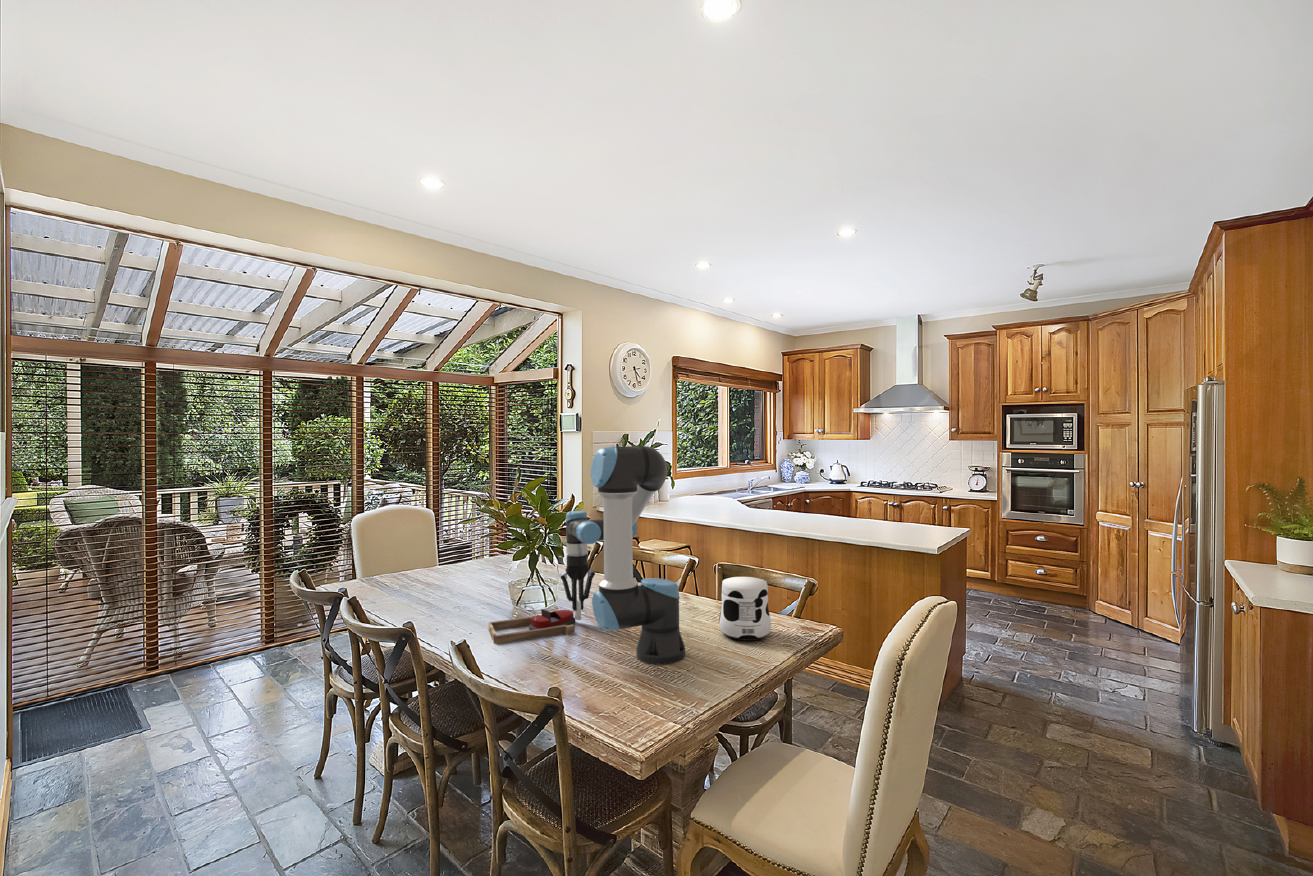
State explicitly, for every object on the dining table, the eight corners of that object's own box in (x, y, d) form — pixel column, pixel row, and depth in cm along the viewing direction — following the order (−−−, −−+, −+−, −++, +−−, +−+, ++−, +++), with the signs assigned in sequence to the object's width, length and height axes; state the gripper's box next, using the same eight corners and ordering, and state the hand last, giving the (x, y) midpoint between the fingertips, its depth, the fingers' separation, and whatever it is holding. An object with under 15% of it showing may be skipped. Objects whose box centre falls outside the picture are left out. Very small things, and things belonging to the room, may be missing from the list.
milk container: (745, 623, 206) (744, 573, 206) (782, 636, 192) (781, 583, 192) (708, 633, 196) (708, 581, 196) (745, 648, 182) (744, 592, 182)
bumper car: (580, 624, 208) (580, 596, 208) (533, 638, 194) (533, 608, 194) (564, 618, 215) (564, 591, 215) (517, 631, 201) (517, 602, 201)
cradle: (575, 633, 198) (575, 626, 198) (495, 646, 187) (495, 638, 187) (561, 617, 215) (561, 611, 215) (487, 628, 205) (487, 621, 205)
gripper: (591, 550, 214) (592, 613, 214) (556, 553, 209) (558, 618, 209) (597, 554, 207) (598, 619, 207) (561, 557, 202) (562, 624, 202)
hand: (578, 619), depth 208 cm, fingers closed
